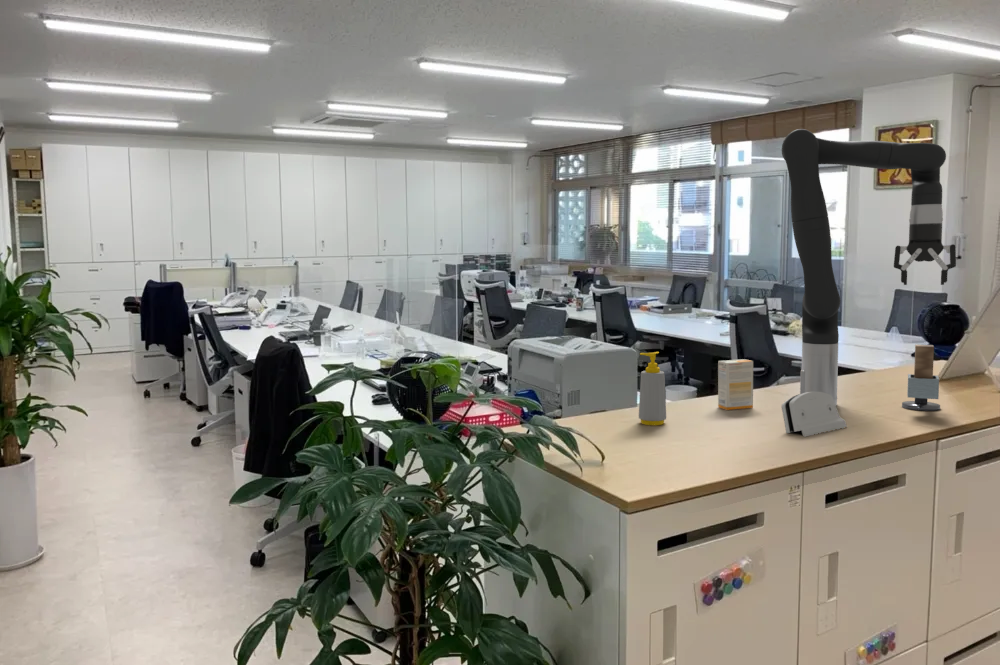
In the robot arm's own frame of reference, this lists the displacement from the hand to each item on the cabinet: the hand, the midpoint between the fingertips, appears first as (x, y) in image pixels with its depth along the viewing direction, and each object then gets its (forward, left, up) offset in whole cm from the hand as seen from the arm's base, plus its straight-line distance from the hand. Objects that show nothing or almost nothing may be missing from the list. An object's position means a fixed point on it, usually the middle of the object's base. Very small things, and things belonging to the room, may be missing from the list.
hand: (923, 284), depth 201 cm
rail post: (0, -9, -27) cm, 29 cm away
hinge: (-23, -37, -34) cm, 55 cm away
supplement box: (-44, -17, -33) cm, 58 cm away
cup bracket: (0, -3, -33) cm, 33 cm away
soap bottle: (-60, -45, -33) cm, 82 cm away
